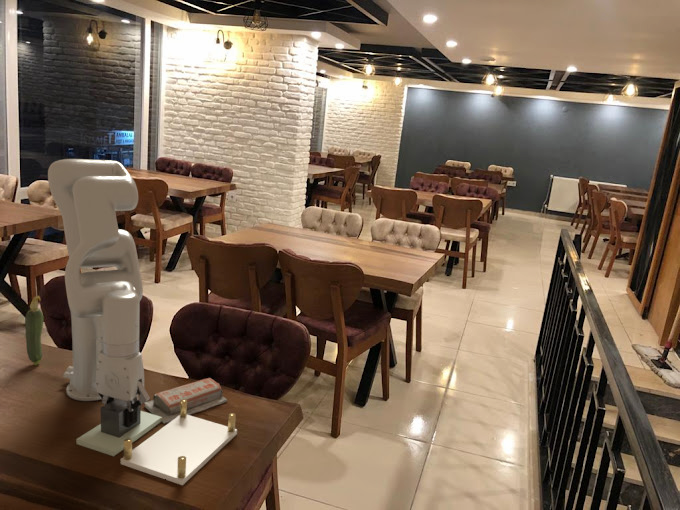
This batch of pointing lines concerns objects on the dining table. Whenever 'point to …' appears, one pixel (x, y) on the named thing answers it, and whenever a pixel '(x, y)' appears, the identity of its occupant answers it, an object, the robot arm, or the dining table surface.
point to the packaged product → (196, 395)
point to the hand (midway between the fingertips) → (121, 420)
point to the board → (114, 441)
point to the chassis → (179, 447)
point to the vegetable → (34, 331)
